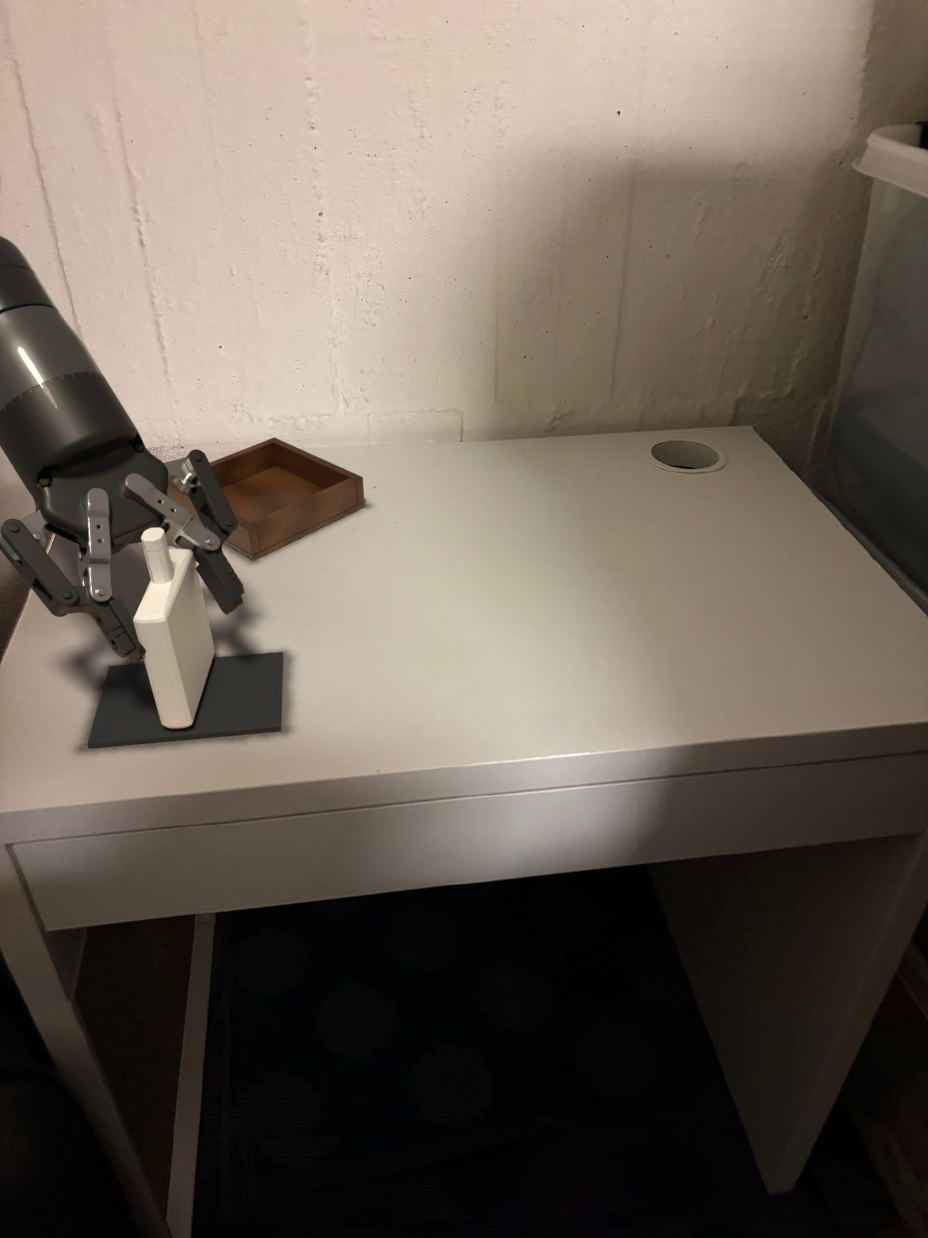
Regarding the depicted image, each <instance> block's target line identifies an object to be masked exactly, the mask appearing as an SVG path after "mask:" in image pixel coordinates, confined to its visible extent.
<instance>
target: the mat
mask: <svg viewBox="0 0 928 1238" xmlns="http://www.w3.org/2000/svg"><path fill="white" fill-rule="evenodd" d="M283 670H284V653H283V651H276V652H265V653H264V652H263V653H262V652H261V653H251V654H250V653H249V654H238V655H228V656H227V655H226V656H213V659H212V662H211V665H210V669H209V672H208V675H207V678H206V681H205V685H204V688H203V691H202V694H201V698H200V701H199V704H198V707H197V710H196V714H195V717H194V720H193V723H192V725H191V726H188V727H185V728H167V727H165V726H164V725H162V724H161V720H160V716H159V713H158V709H157V706H156V702H155V698H154V695H153V691H152V687H151V684H150V680H149V677H148V673H147V669H146V666H145V662H140V663H127V664H126V663H125V664H115V665H108V668H107V672H106V675H105V678H104V682H103V685H102V690H101V692H100V697H99V700H98V704H97V708H96V711H95V715H94V718H93V722H92V726H91V728H90V733H89V736H88V739H87V748H88V749H95V748H106V747H117V746H127V745H128V746H130V745H139V744H150V743H151V744H152V743H161V742H172V741H184V740H193V739H195V740H196V739H205V738H206V739H207V738H218V737H228V736H229V737H230V736H238V735H249V734H261V733H272V732H281V730H282V704H283V703H282V701H283Z"/></svg>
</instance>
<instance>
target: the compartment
mask: <svg viewBox="0 0 928 1238" xmlns="http://www.w3.org/2000/svg"><path fill="white" fill-rule="evenodd" d="M209 463H210V465H211V467H212V469H213V471H214V473H215V475H216V478H217V480H218V482H219V484H220V486H221V488H222V490H223V492H224V494H225V496H226V498H227V500H228V503H229V505H230V507H231V509H232V511H233V513H234V515H235V517H236V519H237V522H238V527H237V529H236V530H235V531H234V532H233V533H232V534H231V535H230V536H229V537H228V538H227V540H226V541H225V542H224V543H223V545H226V546H227V547H229V548H231V549H233V550H235V551H236V552H238V553H240V554H242V555H243V556H245V557H247V558H248V559H250V560H252V561H255V560H257V559H260V558H261V557H263V556H266V555H268V554H270V553H273V551H276V550H278V549H280V548H282V547H284V546H286V545H288V544H290V543H292V542H294V541H297V540H299V539H301V538H303V537H304V536H307V535H310V534H311V533H313V532H315V531H317V530H319V529H321V528H323V527H325V526H328V525H329V524H331V523H334V522H336V521H338V520H340V519H342V518H344V517H346V516H348V515H350V514H352V513H354V512H357V511H359V510H360V509H363V508H365V507H366V505H365V489H364V477H363V476H361V475H359V474H357V473H355V472H352V471H351V470H348V469H346V468H344V467H341V466H339V465H337V464H335V463H333V462H330V461H328V460H326V459H323V458H322V457H319V456H317V455H315V454H312V453H310V452H308V451H306V450H304V449H301V448H299V447H297V446H295V445H292V444H290V443H288V442H287V441H283V440H281V439H279V438H277V437H275V436H274V437H271V438H268V439H266V440H264V441H261V442H258V443H256V444H253V445H251V446H248V447H246V448H244V449H243V448H242V449H241V450H239V451H238V450H237V451H235V452H233V453H231V454H228V455H225V456H223V457H220V458H217V459H215V460H213V461H209ZM167 496H168V497H169V498H171V499H172V500H173V501H175V502H176V503H178V504H179V505H181V506H182V507H183V508H185V509H186V510H188V511H189V512H190V513H191V514H192V515H193V518H194V520H196V521H197V522H198V523H200V524H201V525H203V524H202V522H201V520H200V518H199V516H198V514H197V512H196V510H195V508H194V506H193V503H192V501H191V499H190V497H189V495H188V493H186V492H181V491H180V490H179V488H178V487H177V485H176V484H175V483H173V482H171V481H168V490H167Z"/></svg>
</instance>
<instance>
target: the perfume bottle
mask: <svg viewBox="0 0 928 1238" xmlns="http://www.w3.org/2000/svg"><path fill="white" fill-rule="evenodd" d="M141 540H142V542H141V544H142V548H143V553H144V558H145V562H146V566H147V570H148V573H149V578H150V580H149V583H148V585H147V587H146V590H145V592H144V593H143V596H142V599H141V600H140V603H139V606H138V608H137V609H136V612H135V614H134V616H133V622H134V626H135V630H136V633H137V637H138V640H139V642H140V643H141V644H142V646H143V647H144V648H145V650H146V653H145V655H144V656H143V658H142V659H143V661H144V662H143V663H145V666H146V669H147V673H148V677H149V680H150V684H151V687H152V691H153V695H154V698H155V702H156V706H157V709H158V713H159V716H160V720H161V724H162V725H164V726H165V727H167V728H185V727H188V726H191V725H192V723H193V720H194V717H195V714H196V710H197V707H198V704H199V701H200V698H201V694H202V691H203V688H204V685H205V681H206V678H207V675H208V672H209V669H210V665H211V662H212V659H213V657H215V652H216V649H215V645H214V641H213V635H212V631H211V627H210V622H209V617H208V612H207V609H206V604H205V603H206V602H205V599H204V594H203V590H202V585H201V581H200V575H199V573H198V572H197V570H196V569H195V568H196V567H197V566H198V565H197V562H196V561H195V557H194V552H193V551H192V550H189V549H176V548H170V549H169V546H168V545H167V541H166V537H165V533H164V530H163V529H162V528H149V529H147V530H145V531H144V532H143V534H142V536H141Z"/></svg>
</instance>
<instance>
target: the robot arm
mask: <svg viewBox="0 0 928 1238" xmlns="http://www.w3.org/2000/svg"><path fill="white" fill-rule="evenodd" d="M1 190H2V177H1V175H0V193H1ZM0 449H1V450H2V452H3V453H4V455H5V456H6V458H7V459H8V461H9V463H10V464H11V466H12V467H13V469H14V471H15V473H16V474H17V476H18V477H19V479H20V480H21V482H22V483H23V485H24V487H25V488H26V490H27V491H28V493H29V494H30V495H31V497H32V499H33V501H34V505H35V512H32V513H31V514H29V515H27V516H25V517H23V518H21V519H18V518H8V519H6V520H4V522H3V523H2V525H1V529H0V552H1V553H2V554H3V555H4V557H5V558H6V559H7V560H8V561H9V562H10V564H11V565H12V566H13V568H14V570H15V571H17V572H18V574H19V575H20V577H21V578H22V579H23V580H24V581H25V583H26V584H27V585H28V587H30V589H31V590H32V591H33V592H34V593H35V595H36V596H37V597H38V599H39V600H40V602H42V604H43V605H44V606H45V607H46V608H47V610H48V612H49V613H50V614H52V615H53V616H55V617H58V618H63V617H65V616H67V615H70V614H79V613H80V614H81V613H82V614H86V615H88V616H90V617H91V618H92V619H93V620H94V622H95V624H96V625H97V627H98V628H99V631H100V632H101V634H102V635H103V636H104V638H105V640H106V641H107V643H108V644H109V646H110V647H111V649H112V651H113V652H114V653H115V654H116V655H117V656H118V657H120V658H121V659H123V658H126V657H127V658H128V659H129V660H130V661H131V662H132V663H133V664H136V662H138V661H141V660H142V659H144V658H143V656H144V655H145V653H146V650H145V648H144V647H143V646H142V644H141V643H140V642H139V640H138V637H137V633H136V630H135V626H134V622H133V619H134V617H132V615H131V614H130V612H129V610H128V609H127V607H126V605H125V604H124V603H123V601H122V599H121V598H120V596H117V597H115V598H114V597H113V595H112V594H113V587H112V575H111V573H112V572H111V562H112V556H113V555H116V554H118V553H119V552H121V551H123V550H124V549H125V548H126V547H127V546H128V545H133V544H138V543H142V540H141V536H142V534H143V532H144V531H145V530H147V529H149V528H162V529H163V530H164V533H165V537H166V541H167V545H168V547H173V548H174V549H189V550H192V551H193V552H194V557H195V562H196V563H197V564H198V565H196V566H197V567H196V568H195V569H196V570H197V572H198V575H199V578H200V579H201V580H202V582H203V583H204V585H205V586H206V588H207V590H208V592H209V593H210V594H211V596H212V598H213V599H214V601H215V602H216V604H217V606H218V608H219V609H220V611H221V612H222V613H223V614H224V615H226V616H228V615H230V614H232V613H233V612H235V611H237V610H238V609H239V608H240V607H242V606H243V604H244V598H243V595H244V594H245V589H244V584H243V583H242V581H241V579H240V578H239V577H238V575H237V573H236V572H235V570H234V568H233V567H232V564H231V563H230V562H229V561H228V560H229V559H227V557H226V555H225V553H224V551H223V545H224V542H225V541H226V540H227V538H228V537H229V536H230V535H231V534H232V533H233V532H234V531H235V530H236V529H237V527H238V522H237V519H236V517H235V515H234V513H233V511H232V509H231V507H230V505H229V503H228V500H227V498H226V496H225V494H224V492H223V490H222V488H221V486H220V484H219V482H218V480H217V478H216V475H215V473H214V471H213V469H212V467H211V465H210V461H209V459H208V457H207V455H206V453H205V452H204V451H203V450H201V449H197V448H194V449H192V450H190V451H189V453H188V454H187V455H186V456H185V457H182V458H177V459H174V460H170V461H166V462H165V461H164V462H163V460H161V459H160V458H158V457H157V456H155V455H154V454H153V453H151V451H149V450H148V448H147V447H146V445H145V442H144V440H143V438H142V436H141V434H140V432H139V430H138V428H137V426H136V425H135V423H134V422H133V420H132V419H131V417H130V416H129V414H128V412H127V411H126V409H125V407H124V406H123V404H122V403H121V401H120V399H119V398H118V396H117V394H116V393H115V392H114V390H113V388H112V387H111V385H110V383H109V382H108V380H107V378H106V377H105V375H104V374H103V372H102V370H101V369H100V367H99V366H98V364H97V362H96V361H95V359H94V357H93V356H92V354H91V353H90V350H89V349H88V348H87V346H86V345H85V343H84V342H83V341H82V339H81V338H80V337H79V335H78V334H77V333H76V331H75V330H73V328H72V327H71V326H70V324H69V323H68V321H67V320H66V319H65V318H64V316H63V315H62V313H61V312H60V311H59V309H58V307H57V305H56V304H55V302H54V301H53V299H52V297H51V295H50V294H49V293H48V291H47V290H46V288H45V286H44V284H43V283H42V281H41V280H40V278H39V277H38V274H37V273H36V272H35V269H34V267H33V266H32V264H30V262H29V260H28V259H27V258H26V256H25V255H24V253H23V252H22V251H21V250H20V248H19V247H18V246H17V245H16V244H15V243H13V242H12V241H11V240H10V239H8V238H6V237H4V236H2V235H0ZM168 481H171V482H173V483H175V484H176V485H177V487H178V488H179V490H180V491H181V492H186V493H188V495H189V497H190V499H191V501H192V503H193V506H194V508H195V510H196V512H197V514H198V516H199V518H200V520H201V522H202V524H203V525H201V524H200V523H198V522H197V521H196V520H194V518H193V515H192V514H191V513H190V512H189V511H188V510H186V509H185V508H183V507H182V506H181V505H179V504H178V503H176V502H175V501H173V500H172V499H171V498H169V497H168V496H167V490H168ZM44 530H46V531H47V532H49V533H51V534H54V535H56V536H58V537H60V538H62V539H63V540H66V541H68V542H71V543H73V544H74V545H76V552H77V567H78V576H79V579H80V585H78V586H74V585H73V584H72V582H71V581H70V580H69V579H68V578H67V576H66V575H65V574H64V572H63V571H62V570H61V569H60V567H59V566H58V565H57V564H56V563H55V561H54V560H53V559H52V558H51V556H50V555H49V554H48V552H47V551H46V550H45V547H46V545H47V538H46V536H45V534H44Z"/></svg>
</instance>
